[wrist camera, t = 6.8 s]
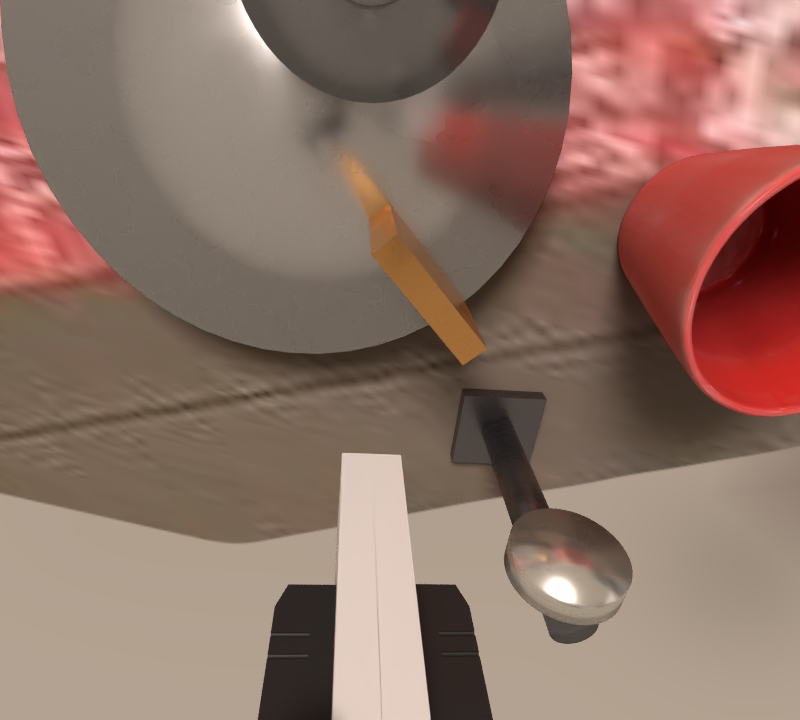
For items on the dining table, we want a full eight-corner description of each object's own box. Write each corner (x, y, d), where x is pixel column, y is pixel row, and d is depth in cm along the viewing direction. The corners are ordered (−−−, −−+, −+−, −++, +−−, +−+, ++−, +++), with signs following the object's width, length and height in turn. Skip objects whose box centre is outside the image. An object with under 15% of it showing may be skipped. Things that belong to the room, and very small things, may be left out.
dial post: (542, 392, 33) (658, 598, 20) (525, 456, 35) (619, 677, 23) (462, 388, 32) (530, 597, 20) (450, 454, 35) (504, 678, 22)
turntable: (332, -459, 16) (317, -784, 10) (638, 156, 25) (729, 185, 19) (-89, 54, 21) (-267, 49, 15) (292, 406, 31) (276, 491, 24)
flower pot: (562, 313, 30) (642, 410, 22) (629, 101, 25) (768, 119, 17) (731, 332, 32) (868, 430, 23) (827, 135, 27) (1047, 168, 18)
